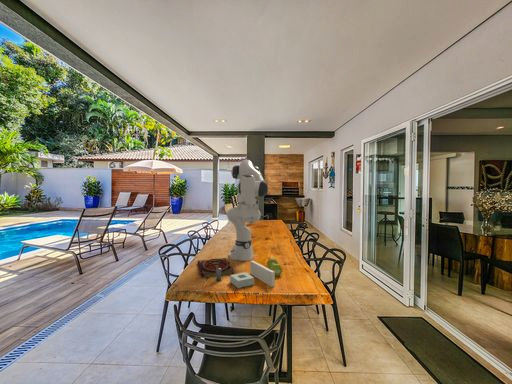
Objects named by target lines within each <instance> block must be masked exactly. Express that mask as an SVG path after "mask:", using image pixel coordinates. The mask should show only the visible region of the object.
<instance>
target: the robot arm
mask: <svg viewBox="0 0 512 384" xmlns="http://www.w3.org/2000/svg"><path fill="white" fill-rule="evenodd" d="M230 171H231V172H230V173H231V177H232V179H235V180H238V185H237V198H236V199H237V202H238V203H237V206H236V207H232V208H229V209H228V210H227V213H226V216H227V217H226V218H227V220H228V221H230V222H231V223H232V225H233V226H234V228H235V231H236V233H235V234H236V239H235V243H234V245H233V246H232V247H231V249H230V253H227V254H228V255H227V256H228V257H229V258H230V259H231V260H232V261H242V262H243V261H245V262H246V261H252V260H253V258H254V257H255V254H254V251H253V250H254V248H253V245H252V244H253V243H252V229H250V227H248V226H247V225H246V223H249V225H254V222H255V223H256V222H258V221H260V219H261V216H262V213H261V211H260V210H259V204H260V201H259V200H258V199H257V198H256V197H260V198H261V197H263V198H264V197H265V196H266V195H267V194H268V191H269V185H268V183H267V182H266V181H265V179H264V177H263V175H262V173H261V170H260V168H259V167H258V166H257V165H255V166H254V164H253V162H252V161H251V160H249V159H243V160H242V161H241V162H240V164H239V165H238V164H237V165H234V166H232V169H231V170H230Z"/></svg>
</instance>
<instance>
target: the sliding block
mask: <svg viewBox="0 0 512 384" xmlns="http://www.w3.org/2000/svg"><path fill="white" fill-rule="evenodd" d="M229 276H230V277H229V278H230V279H229V282H230V283H231V284H232V285H233V286H235V287H236V288H237V289H240V288H245V287H250V286H255V276H253V275H252V274H250V273H248V272H240V273H236V274H235V273H234V274H232V275H229Z"/></svg>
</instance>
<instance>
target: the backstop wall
mask: <svg viewBox="0 0 512 384" xmlns="http://www.w3.org/2000/svg"><path fill="white" fill-rule="evenodd" d="M249 271H250V273H249V275H251V276H252V277H254V278H257V279H258V280H260V281H261V282H263V283H265V284H266V285H268V286H270V287H275V283H276V280H275V278H276V276H275V272H274V271H272V270H270V269H269V268H268V267H266V266H264V265H263V264H260V263H258V262H256V261H255V260H250V269H249Z"/></svg>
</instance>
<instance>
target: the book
mask: <svg viewBox="0 0 512 384" xmlns="http://www.w3.org/2000/svg"><path fill="white" fill-rule="evenodd" d="M196 263H197V267H198V270H199V273H200V277H201V278H202V279H203V278H205V277H206V278H207V277H216V268H221V276H230V275H234V274H235V273H234V271H235V269H234V267H233V265H232V264H231V263H230V260H228V259H227V258H226V257H220V258H210V259H209V258H208V259H202V260H197V262H196Z"/></svg>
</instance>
